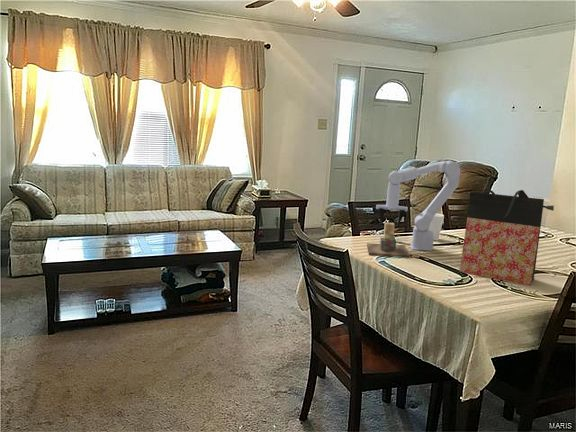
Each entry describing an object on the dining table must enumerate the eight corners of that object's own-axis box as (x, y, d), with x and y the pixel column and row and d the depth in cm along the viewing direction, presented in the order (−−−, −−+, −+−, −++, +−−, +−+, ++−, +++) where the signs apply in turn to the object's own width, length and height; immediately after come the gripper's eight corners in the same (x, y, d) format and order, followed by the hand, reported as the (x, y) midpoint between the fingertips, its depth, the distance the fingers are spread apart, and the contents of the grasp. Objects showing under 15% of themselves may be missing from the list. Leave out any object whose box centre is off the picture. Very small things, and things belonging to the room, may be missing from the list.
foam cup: (437, 242, 236) (440, 217, 234) (420, 239, 242) (422, 214, 239) (443, 239, 244) (446, 214, 241) (426, 236, 249) (429, 212, 247)
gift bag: (457, 273, 185) (467, 186, 178) (466, 265, 196) (475, 183, 190) (540, 289, 169) (554, 194, 162) (544, 280, 180) (557, 190, 174)
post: (392, 240, 216) (393, 222, 214) (393, 242, 212) (394, 224, 210) (383, 240, 216) (384, 222, 215) (384, 242, 212) (385, 224, 211)
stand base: (404, 247, 223) (405, 236, 222) (410, 257, 205) (411, 245, 204) (366, 245, 225) (367, 234, 224) (368, 254, 207) (369, 242, 206)
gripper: (378, 196, 217) (375, 225, 220) (409, 199, 216) (406, 227, 218) (377, 194, 224) (374, 222, 226) (407, 197, 222) (404, 224, 225)
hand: (390, 224), depth 223 cm, fingers open, 7 cm apart
